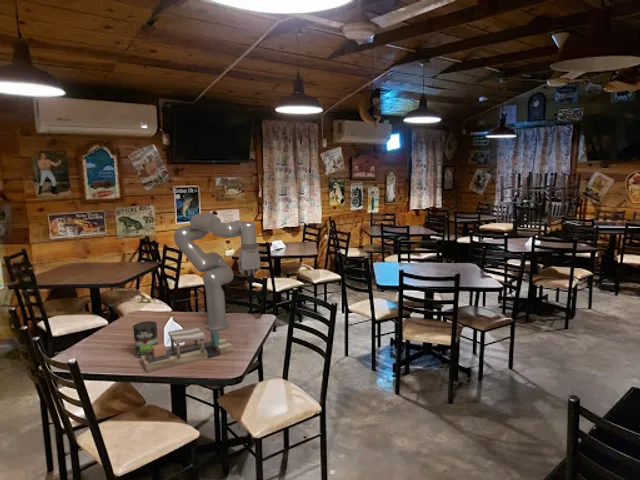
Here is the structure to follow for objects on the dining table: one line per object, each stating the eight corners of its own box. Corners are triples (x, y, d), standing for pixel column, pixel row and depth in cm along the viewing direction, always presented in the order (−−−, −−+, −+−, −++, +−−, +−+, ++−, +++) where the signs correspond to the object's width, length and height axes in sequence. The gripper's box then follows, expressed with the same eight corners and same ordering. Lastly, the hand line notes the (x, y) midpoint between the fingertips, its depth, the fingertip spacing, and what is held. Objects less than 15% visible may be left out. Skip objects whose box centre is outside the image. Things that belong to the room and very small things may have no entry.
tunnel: (141, 361, 202) (139, 337, 200) (223, 343, 221) (222, 321, 219) (147, 373, 190) (144, 348, 188) (233, 352, 209) (232, 329, 207)
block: (152, 356, 199) (151, 345, 199) (164, 353, 202) (163, 343, 201) (154, 360, 195) (153, 349, 194) (166, 357, 198) (165, 346, 197)
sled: (145, 355, 199) (144, 343, 199) (214, 340, 215) (213, 328, 214) (148, 362, 192) (147, 349, 191) (220, 346, 208) (219, 334, 207)
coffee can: (158, 356, 207) (155, 327, 205) (134, 359, 204) (131, 329, 202) (160, 348, 217) (157, 320, 214) (137, 351, 214) (134, 322, 212)
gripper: (259, 244, 231) (261, 279, 234) (232, 247, 224) (234, 283, 227) (265, 246, 225) (267, 282, 228) (237, 249, 218) (239, 286, 220)
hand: (250, 282), depth 227 cm, fingers closed
